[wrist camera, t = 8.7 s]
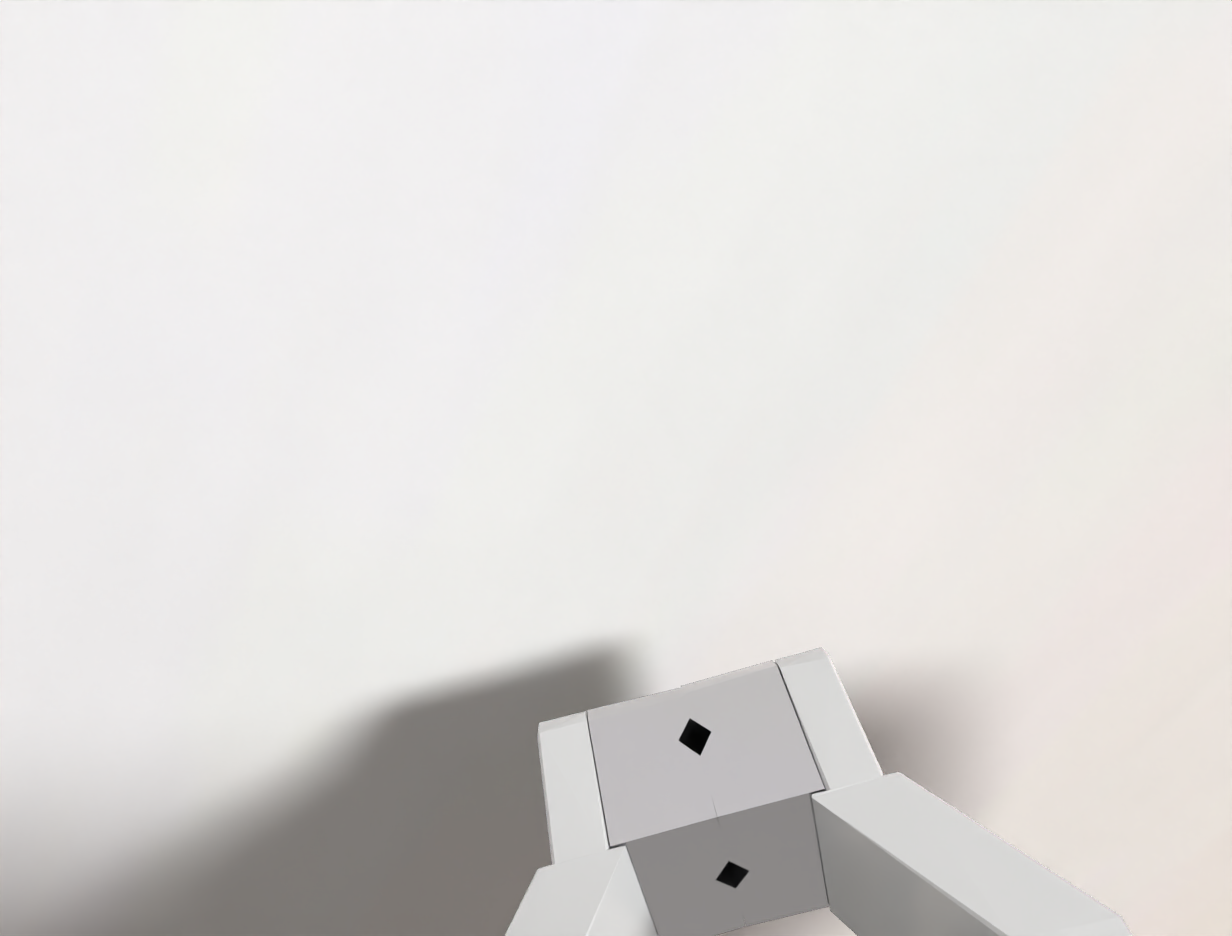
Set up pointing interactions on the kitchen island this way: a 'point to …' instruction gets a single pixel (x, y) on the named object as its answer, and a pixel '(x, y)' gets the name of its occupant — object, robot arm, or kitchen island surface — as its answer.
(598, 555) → the kitchen island surface
